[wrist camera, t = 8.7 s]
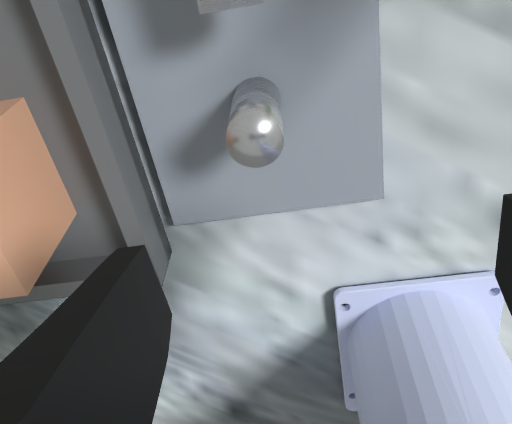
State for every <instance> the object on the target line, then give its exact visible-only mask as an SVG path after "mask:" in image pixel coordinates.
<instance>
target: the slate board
mask: <svg viewBox="0 0 512 424" xmlns="http://www.w3.org/2000/svg"><path fill="white" fill-rule="evenodd" d="M102 3H103V6H104V9H105V12H106V15H107V18H108V21H109V24H110V28H111V31H112V34H113V37H114V40H115V43H116V46H117V49H118V52H119V56H120V59H121V62H122V65H123V68H124V71H125V74H126V77H127V80H128V84H129V87H130V90H131V93H132V96H133V99H134V102H135V105H136V109H137V112H138V115H139V118H140V121H141V124H142V127H143V130H144V133H145V137H146V140H147V143H148V146H149V149H150V152H151V155H152V158H153V161H154V165H155V168H156V171H157V174H158V177H159V180H160V183H161V186H162V190H163V193H164V196H165V199H166V202H167V205H168V208H169V211H170V214H171V218H172V221H173V224H174V226H176V225H183V224H191V223H199V222H207V221H215V220H222V219H230V218H238V217H246V216H254V215H262V214H269V213H277V212H285V211H293V210H301V209H308V208H316V207H324V206H332V205H340V204H347V203H355V202H363V201H371V200H379V199H384V182H383V145H382V108H381V71H380V34H379V0H264V3H262V4H256V5H250V6H245V7H239V8H233V9H228V10H222V11H217V12H211V13H205V14H199V9H198V5H197V0H102ZM251 77H263V78H266V79H268V80H270V81H271V82H273V83H274V84H275V85H276V86H277V88H278V89H279V91H280V94H281V102H282V119H283V135H284V145H283V149H282V152H281V154H280V155H279V157H278V158H277V159H276V160H275V161H274V162H272V163H271V164H269V165H267V166H264V167H259V168H251V167H246V166H243V165H241V164H239V163H238V162H236V161H235V160H234V159H233V158H232V157H231V156H230V154H229V153H228V151H227V148H226V143H225V139H226V132H227V127H228V121H229V116H230V110H231V104H232V99H233V94H234V91H235V89H236V87H237V86H238V85H239V84H240V83H241V82H242V81H244V80H246V79H248V78H251Z"/></svg>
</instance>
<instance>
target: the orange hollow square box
mask: <svg viewBox="0 0 512 424" xmlns="http://www.w3.org/2000/svg"><path fill="white" fill-rule="evenodd" d="M76 214H77V213H76V210H75V208H74V206H73V204H72V202H71V199H70V197H69V195H68V193H67V191H66V189H65V186H64V184H63V182H62V180H61V178H60V175H59V173H58V171H57V169H56V167H55V165H54V162H53V160H52V158H51V156H50V154H49V151H48V149H47V147H46V145H45V143H44V141H43V138H42V136H41V134H40V132H39V130H38V127H37V125H36V123H35V121H34V119H33V116H32V114H31V112H30V110H29V108H28V106H27V103H26V101H25V99H24V97H21V98H15V99H10V100H4V101H0V299H3V298H11V297H19V296H28V294H29V293H30V291H31V289H32V288H33V286H34V284H35V283H36V281H37V279H38V278H39V276H40V274H41V273H42V271H43V269H44V268H45V266H46V264H47V263H48V261H49V259H50V258H51V256H52V254H53V253H54V251H55V249H56V248H57V246H58V244H59V243H60V241H61V239H62V238H63V236H64V234H65V233H66V231H67V229H68V228H69V226H70V224H71V222H72V221H73V219H74V217H75V216H76Z"/></svg>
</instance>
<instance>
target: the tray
mask: <svg viewBox="0 0 512 424" xmlns="http://www.w3.org/2000/svg"><path fill="white" fill-rule="evenodd" d="M21 97H24V99H25V101H26V103H27V106H28V108H29V110H30V112H31V114H32V116H33V119H34V121H35V123H36V125H37V127H38V130H39V132H40V134H41V136H42V138H43V141H44V143H45V145H46V147H47V149H48V151H49V154H50V156H51V158H52V160H53V162H54V165H55V167H56V169H57V171H58V173H59V175H60V178H61V180H62V182H63V184H64V186H65V189H66V191H67V193H68V195H69V197H70V199H71V202H72V204H73V206H74V208H75V210H76V213H77V214H76V216H75V217H74V219H73V221H72V222H71V224H70V226H69V228H68V229H67V231H66V233H65V234H64V236H63V238H62V239H61V241H60V243H59V244H58V246H57V248H56V249H55V251H54V253H53V254H52V256H51V258H50V259H49V261H48V263H47V264H46V266H45V268H44V269H43V271H42V273H41V274H40V276H39V278H38V279H37V281H36V283H35V284H34V286H33V288H32V289H31V291H30V293H29V294H28V296H19V297H11V298H3V299H0V305H2V304H11V303H19V302H28V301H37V300H46V299H54V298H63V297H69V296H70V295H71V294H72V293H73V292H74V291H75V290H76V289H77V288H78V287H79V286H80V285H81V284H82V283H83V282H84V281H85V280H86V279H87V278H88V277H89V276H90V275H91V274H92V273H93V271H94V270H95V269H96V268H97V267H98V266H99V265H100V264H101V263H102V262H103V261H104V260H105V259H106V258H107V257H108V256H110V255H111V254H112V253H113V252H114V251H115V250H116V249H117V248H124V247H131V246H139V245H145V247H146V249H147V252H148V254H149V257H150V259H151V262H152V265H153V267H154V270H155V272H156V275H157V277H158V280H159V282H160V285H161V286H162V285H163V282H164V278H165V274H166V271H167V267H168V263H169V259H170V256H171V252H172V251H171V248H170V245H169V242H168V239H167V236H166V233H165V230H164V227H163V224H162V221H161V218H160V215H159V212H158V209H157V206H156V203H155V200H154V197H153V194H152V191H151V188H150V185H149V182H148V179H147V176H146V173H145V170H144V167H143V164H142V161H141V158H140V155H139V152H138V149H137V146H136V144H135V141H134V138H133V135H132V132H131V129H130V126H129V123H128V120H127V117H126V114H125V111H124V108H123V105H122V102H121V99H120V96H119V93H118V90H117V87H116V84H115V81H114V78H113V75H112V72H111V69H110V66H109V63H108V60H107V57H106V54H105V51H104V48H103V45H102V42H101V39H100V36H99V33H98V31H97V28H96V25H95V22H94V19H93V16H92V13H91V10H90V7H89V4H88V1H87V0H0V101H4V100H10V99H15V98H21Z"/></svg>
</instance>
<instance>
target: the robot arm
mask: <svg viewBox="0 0 512 424" xmlns="http://www.w3.org/2000/svg"><path fill="white" fill-rule="evenodd" d="M492 288H495V289H493V290H491V289H492ZM333 299H334V309H335V318H336V327H337V336H338V345H339V354H340V363H341V372H342V381H343V391H344V400H345V407H346V409H348V410H349V411H358V416H359V421H360V424H512V363H511V361H510V359H509V357H508V355H507V353H506V351H505V349H504V347H503V345H502V344H501V342H500V340H499V338H498V334H499V327H500V321H501V314H502V308H503V301H504V299H505V302H506V304H507V306H508V308H509V311H510V313H511V315H512V194H505V195H503V204H502V213H501V222H500V231H499V241H498V250H497V259H496V268H495V271H488V272H479V273H470V274H461V275H452V276H443V277H433V278H424V279H415V280H406V281H397V282H387V283H378V284H369V285H360V286H351V287H342V288H339V289H337V290H336V291H335V292H334V294H333ZM342 304H347V305H345V306H344V305H342ZM171 320H172V313H171V310H170V308H169V305H168V303H167V300H166V298H165V295H164V292H163V290H162V287H161V285H160V282H159V280H158V277H157V275H156V272H155V270H154V267H153V265H152V262H151V259H150V257H149V254H148V252H147V249H146V247H145V245H139V246H131V247H124V248H117V249H116V250H115V251H114V252H113V253H112V254H111V255H110V256H108V257H107V258H106V259H105V260H104V261H103V262H102V263H101V264H100V265H99V266H98V267H97V268H96V269H95V270H94V271H93V273H92V274H91V275H90V276H89V277H88V278H87V279H86V280H85V281H84V282H83V283H82V284H81V285H80V286H79V287H78V288H77V289H76V290H75V291H74V292H73V293H72V294H71V295H70V296H69V297H68V298H67V299H66V300H65V301H64V302H63V303H62V304H61V305H60V306H59V307H58V308H57V309H56V310H55V311H54V312H53V313H52V314H51V315H50V316H49V317H48V318H47V319H46V320H45V321H44V322H43V323H42V324H41V325H40V326H39V327H38V328H37V329H36V330H35V331H34V332H33V333H32V334H30V335H29V336H28V337H27V338H26V339H25V340H24V341H23V342H22V343H21V344H20V345H19V346H18V347H17V348H16V349H15V350H13V351H12V352H11V353H10V354H9V355H8V356H7V357H6V358H5V359H4V360H3V361H1V362H0V424H152V421H153V417H154V413H155V409H156V405H157V401H158V397H159V393H160V388H161V384H162V380H163V376H164V371H165V367H166V363H167V358H168V350H169V341H170V331H171Z"/></svg>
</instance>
